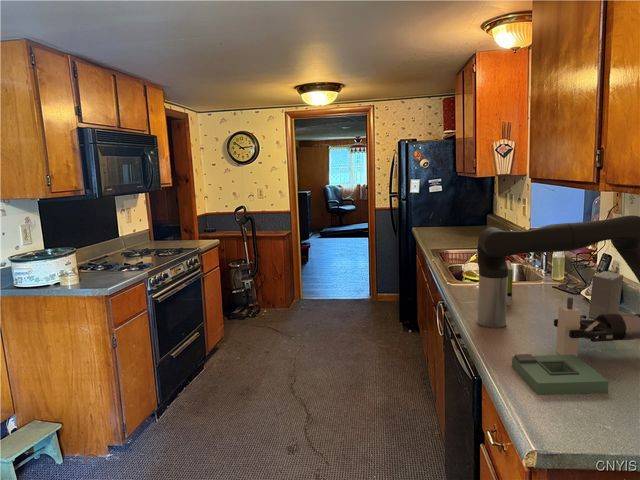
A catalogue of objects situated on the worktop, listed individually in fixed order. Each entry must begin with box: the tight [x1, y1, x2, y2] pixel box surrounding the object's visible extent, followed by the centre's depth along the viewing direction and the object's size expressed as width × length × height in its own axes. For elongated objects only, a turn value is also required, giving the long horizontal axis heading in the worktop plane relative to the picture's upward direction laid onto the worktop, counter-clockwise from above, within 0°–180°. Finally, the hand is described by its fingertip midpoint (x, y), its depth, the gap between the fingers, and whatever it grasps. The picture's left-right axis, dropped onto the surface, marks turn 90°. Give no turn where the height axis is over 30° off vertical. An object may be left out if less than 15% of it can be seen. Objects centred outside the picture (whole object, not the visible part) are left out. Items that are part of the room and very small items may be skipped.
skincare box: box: [588, 270, 624, 320], centre depth 155 cm, size 8×7×16 cm
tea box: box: [506, 260, 514, 306], centre depth 180 cm, size 15×10×15 cm
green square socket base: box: [511, 353, 610, 396], centre depth 116 cm, size 15×17×4 cm
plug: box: [555, 296, 582, 357], centre depth 128 cm, size 4×4×17 cm
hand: (562, 328), depth 128 cm, fingers open, 8 cm apart
